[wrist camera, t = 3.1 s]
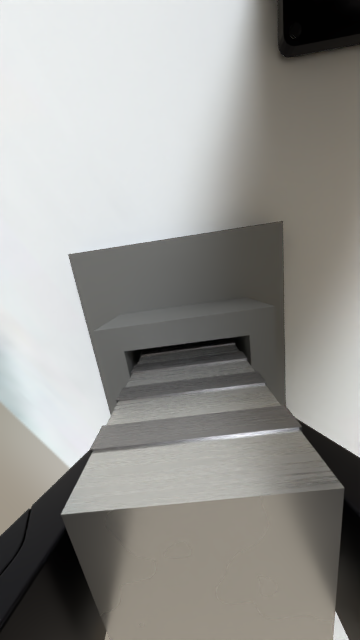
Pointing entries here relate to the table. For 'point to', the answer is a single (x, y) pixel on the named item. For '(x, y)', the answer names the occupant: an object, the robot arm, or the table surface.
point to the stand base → (186, 300)
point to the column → (206, 507)
